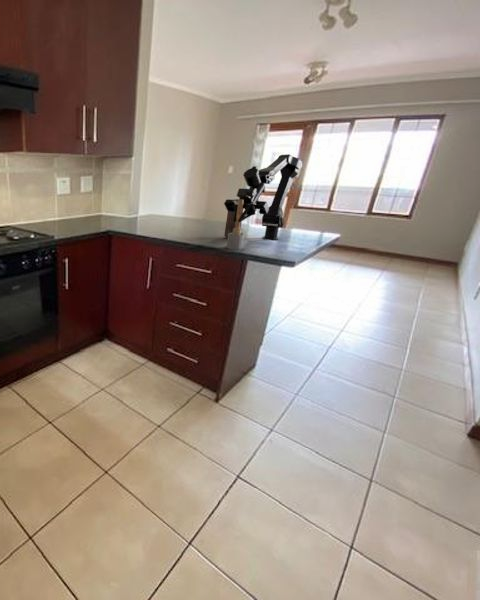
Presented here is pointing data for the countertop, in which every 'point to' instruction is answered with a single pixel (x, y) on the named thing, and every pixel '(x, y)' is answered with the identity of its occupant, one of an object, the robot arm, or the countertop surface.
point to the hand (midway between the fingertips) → (236, 221)
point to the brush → (239, 212)
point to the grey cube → (235, 241)
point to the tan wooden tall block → (230, 222)
